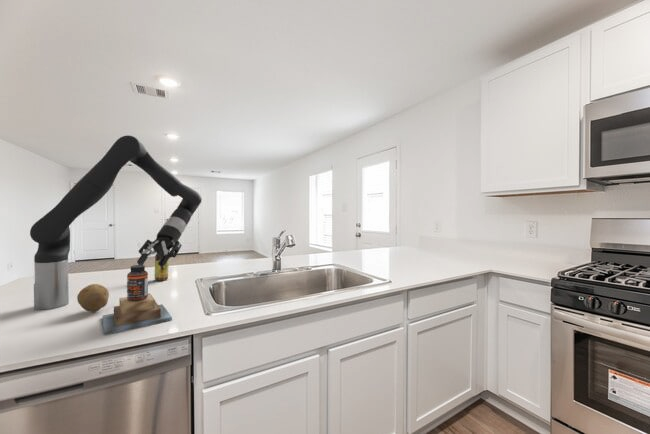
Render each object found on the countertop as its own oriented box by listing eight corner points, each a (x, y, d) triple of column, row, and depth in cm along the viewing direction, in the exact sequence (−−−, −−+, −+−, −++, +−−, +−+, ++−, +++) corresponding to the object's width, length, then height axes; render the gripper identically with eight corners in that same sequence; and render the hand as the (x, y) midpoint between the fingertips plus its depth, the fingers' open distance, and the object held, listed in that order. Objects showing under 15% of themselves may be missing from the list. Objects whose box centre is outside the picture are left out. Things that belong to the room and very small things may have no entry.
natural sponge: (83, 308, 104) (83, 282, 104) (112, 305, 108) (112, 280, 108) (73, 317, 96) (72, 288, 96) (105, 314, 100) (104, 286, 99)
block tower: (104, 334, 83) (104, 311, 83) (102, 318, 96) (102, 298, 95) (172, 319, 95) (171, 299, 95) (162, 306, 107) (162, 288, 107)
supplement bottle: (124, 302, 91) (124, 268, 91) (129, 297, 97) (129, 264, 97) (146, 300, 94) (146, 266, 93) (149, 295, 99) (149, 263, 99)
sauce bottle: (162, 281, 143) (161, 243, 142) (151, 281, 144) (151, 242, 143) (171, 278, 149) (171, 241, 149) (161, 277, 151) (161, 241, 150)
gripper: (151, 223, 110) (126, 258, 99) (183, 224, 107) (161, 259, 96) (161, 236, 115) (138, 269, 104) (192, 237, 113) (172, 271, 102)
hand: (149, 264), depth 100 cm, fingers open, 8 cm apart
